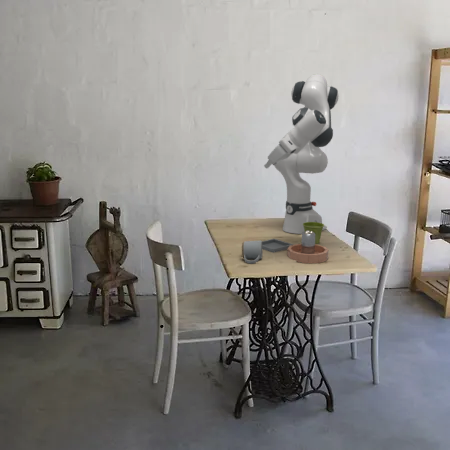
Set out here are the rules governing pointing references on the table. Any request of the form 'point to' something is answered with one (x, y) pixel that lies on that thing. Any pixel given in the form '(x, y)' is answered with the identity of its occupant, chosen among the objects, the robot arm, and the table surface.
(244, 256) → the ceramic mug
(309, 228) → the plant pot
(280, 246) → the parts tray
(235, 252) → the table surface
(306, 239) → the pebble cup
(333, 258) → the table surface
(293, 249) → the terracotta bowl
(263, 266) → the table surface
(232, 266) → the table surface
